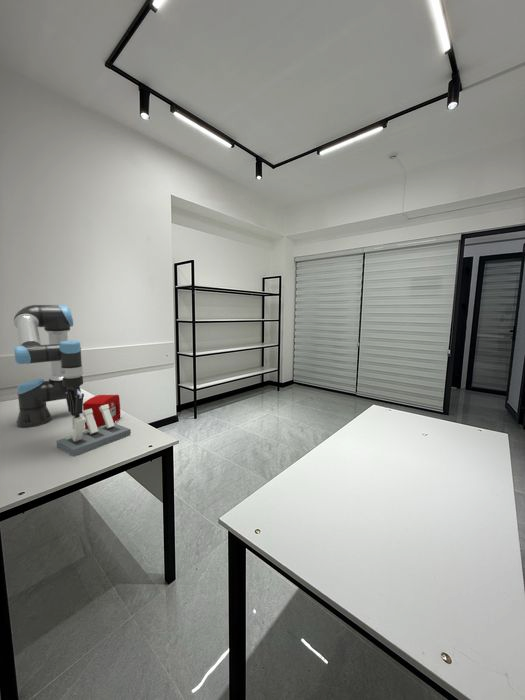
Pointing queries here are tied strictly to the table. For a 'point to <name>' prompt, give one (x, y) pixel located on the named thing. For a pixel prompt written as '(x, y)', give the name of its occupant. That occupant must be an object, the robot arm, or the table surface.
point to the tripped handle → (78, 428)
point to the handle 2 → (107, 416)
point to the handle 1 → (90, 421)
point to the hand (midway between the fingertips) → (76, 428)
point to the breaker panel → (93, 439)
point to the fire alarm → (99, 401)
